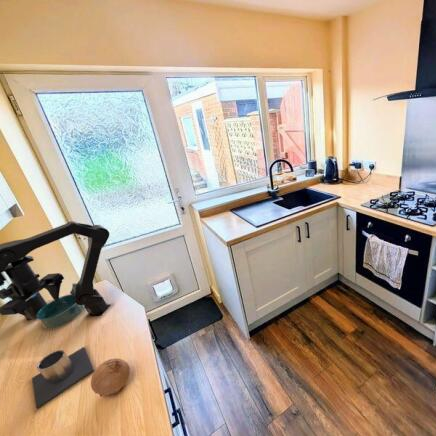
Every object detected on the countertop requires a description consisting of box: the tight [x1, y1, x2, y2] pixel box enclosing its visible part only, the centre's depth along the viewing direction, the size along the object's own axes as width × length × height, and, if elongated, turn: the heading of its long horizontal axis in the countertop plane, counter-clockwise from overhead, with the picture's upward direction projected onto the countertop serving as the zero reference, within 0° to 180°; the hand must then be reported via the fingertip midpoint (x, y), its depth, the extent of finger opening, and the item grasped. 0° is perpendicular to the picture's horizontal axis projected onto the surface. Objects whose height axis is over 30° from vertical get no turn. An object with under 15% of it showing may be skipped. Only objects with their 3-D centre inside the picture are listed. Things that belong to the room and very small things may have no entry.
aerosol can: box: [6, 278, 48, 322], centre depth 104 cm, size 8×8×20 cm
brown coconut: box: [90, 357, 131, 397], centre depth 73 cm, size 10×9×10 cm
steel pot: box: [36, 349, 75, 384], centre depth 78 cm, size 7×7×7 cm
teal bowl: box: [36, 293, 85, 329], centre depth 105 cm, size 14×14×6 cm
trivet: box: [31, 346, 95, 410], centre depth 80 cm, size 14×14×1 cm
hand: (46, 309), depth 92 cm, fingers open, 9 cm apart
